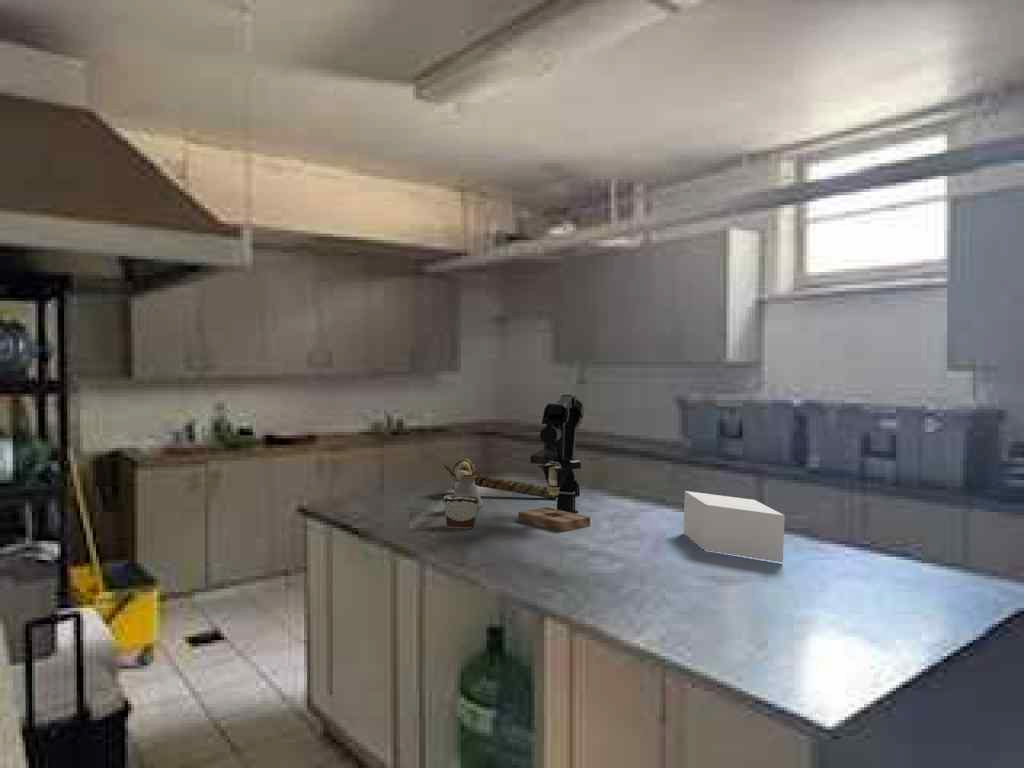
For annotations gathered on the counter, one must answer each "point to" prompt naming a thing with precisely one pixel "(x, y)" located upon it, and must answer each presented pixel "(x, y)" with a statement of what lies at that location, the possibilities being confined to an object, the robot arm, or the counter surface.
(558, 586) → the counter surface
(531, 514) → the walnut board
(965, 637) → the counter surface
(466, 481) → the coffee pot
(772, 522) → the box
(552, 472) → the birch peg
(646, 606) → the counter surface
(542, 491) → the decorative mallet
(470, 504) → the food container
